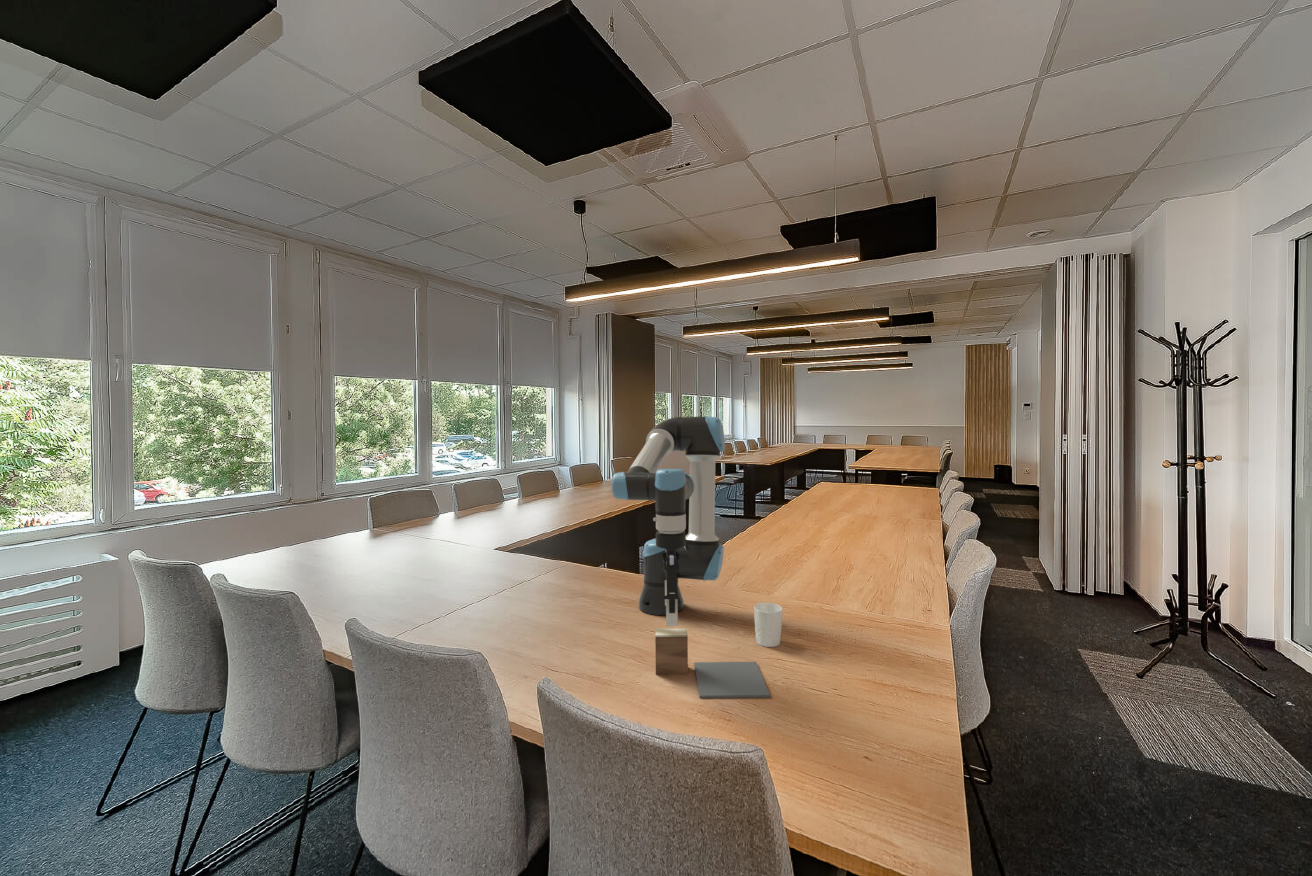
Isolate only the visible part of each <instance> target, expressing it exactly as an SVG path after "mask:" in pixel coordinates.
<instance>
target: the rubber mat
mask: <svg viewBox="0 0 1312 876" xmlns="http://www.w3.org/2000/svg"><path fill="white" fill-rule="evenodd" d="M693 664H694V670H695V676H696V677H695V678H696V683H697V684H696V685H697V690H698V695H699V699H736V698H737V699H740V698H741V699H742V698H744V699H746V698H747V699H749V698H753V699H755V698H757V699H758V698H762V699H763V698H765V699H767V698H768V699H769V698H771V694H770V692H769V690H768V686H767V685H766V682H765V680H764V677H763V675H762V673H761V669H760V668H759V665H758V664H757V661H701V662H700V661H697V662H695V661H694V662H693Z"/></svg>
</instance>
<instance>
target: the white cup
mask: <svg viewBox="0 0 1312 876" xmlns="http://www.w3.org/2000/svg"><path fill="white" fill-rule="evenodd" d="M753 615H754V616H753V617H754V618H753V619H754V621H753V622H754V630H755V631H754V632H755V642H756V643H757V645H759V646H762V647H764V648H765V647H766V648H775V647H778V646H780V644H781V637H782V636H781V635H782V623H783V622H782V621H783V607H782V606H781V605H779V604H777V603H774V602H759V603H756V604H754V606H753Z"/></svg>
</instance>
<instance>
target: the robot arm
mask: <svg viewBox="0 0 1312 876" xmlns="http://www.w3.org/2000/svg"><path fill="white" fill-rule="evenodd" d="M725 440H726V439H725V432H724V426H723V423H722V420H721V419H720V418H719V417H717V416H707V415H706V416H675V417H670V418H668V419H665V420H663V421H662V422H660V423H658V424H656V425H655V426H654V427H653V428H652V429H650V431H649V432H648V434H647V436H646V438H645V444H644V446H643V447H642V448H641V450H640V451H639V453H638V455H637V456H636V458H635V459H634V461H633V462H632V464H631V465H630V467H629V469H628V470H627V471H619V472H616V473H614V475H613V476H612V480H611V493H612V495H613V497H614V498H615V499H617V500H623V501H624V500H625V501H653V502H654V501H655V517H653V518H652V520H653V522H655V529H656V532H655V538H652V539H650V540H647V541H646V542H645V543H644V546H643V554H642V557H643V586H642V590H641V592H640V596H639V598H638V609H639V610H640V611H641V612H643V613H645V614H649V615H655V616H665V617H666V618H665V623H666V624H665V626H666V627H669V626H671V627H677V626H678V625H679V624H678V623H679V622H678V620H679V619H678V616H679V614H678V613H679V612H681V611H683V610H684V598H683V595H682V592H681V589H680V586H679V579H684V580H685V579H686V580H697V581H698V580H699V581H703V582H705V581H716V580H718V579H719V577H720V574H721V571H722V567H723V560H724V554H725V553H724V549H725V548H724V545H722V544H721V543H720V537H718V536H717V535H716V533H715V530H716V529H715V526H716V525H715V522H716V520H715V518H716V517H715V514H716V462H717V461H718V460H719V459H720V458H721V452H724V451H725V449H726V441H725ZM674 451H676V452H685V458H687V460H688V461H689V473H687V472H685V470H684V469H682V468H660V467H661V466H662V464H663V462H664V459H665V458H666V457H667V456H668V455H669V454H671V453H672V452H674ZM687 500H689V502H688V533H686V531H685V530H686V529H687V528H686V527H687V519H686V518H687V515H686V501H687Z"/></svg>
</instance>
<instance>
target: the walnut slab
mask: <svg viewBox="0 0 1312 876" xmlns="http://www.w3.org/2000/svg"><path fill="white" fill-rule="evenodd" d="M654 632H655V636H654V637H655V639H654V640H655V641H654V643H655V646H654V647H655V675H657V676H658V675H661V676H662V675H668V676H669V675H671V676H673V675H674V676H675V675H677V676H678V675H681V676H682V675H689V663H688V661H689V656H688V655H689V652H688V651H689V650H688V645H689V644H688V641H689V640H688V639H689V638H688V637H689V636H688V634H689V633H688V629H687V627H686V628H685V627H683V628H681V627H680V628H674V627H673V628H655V631H654Z"/></svg>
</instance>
